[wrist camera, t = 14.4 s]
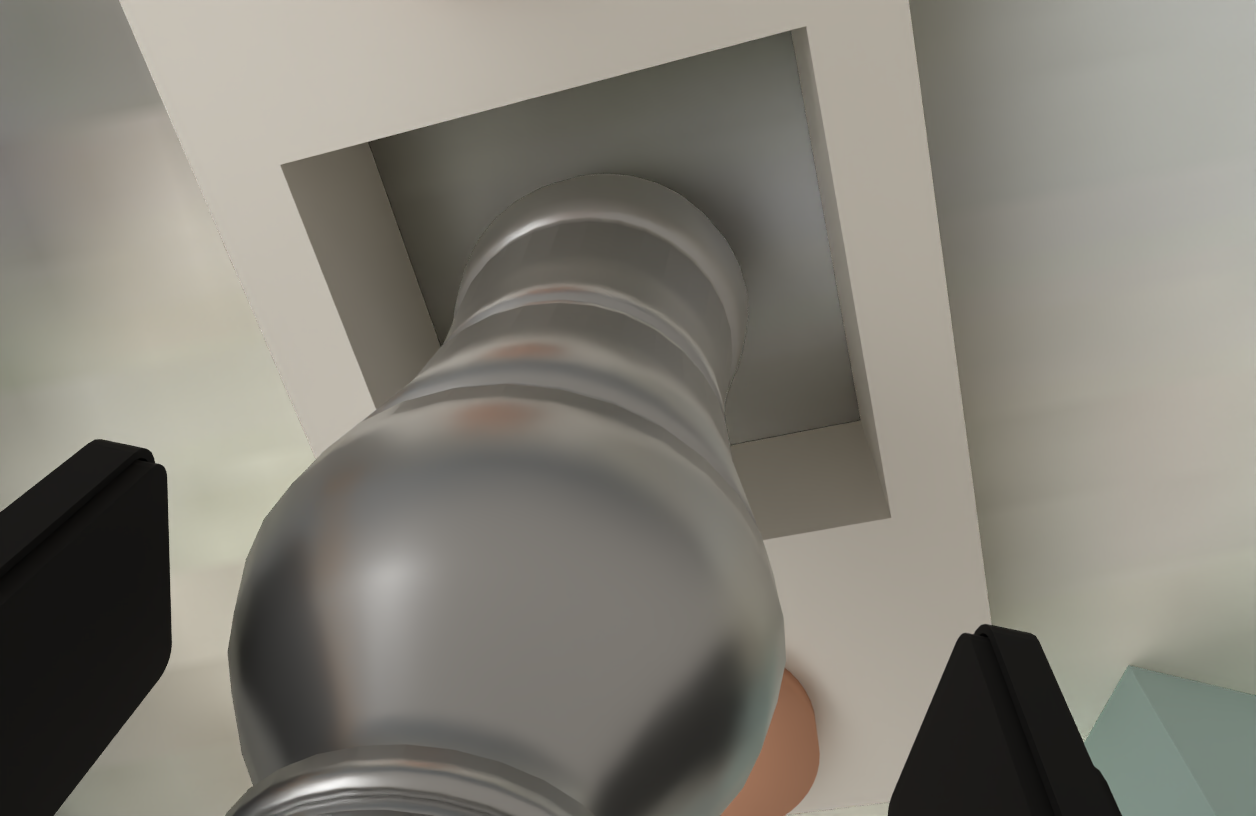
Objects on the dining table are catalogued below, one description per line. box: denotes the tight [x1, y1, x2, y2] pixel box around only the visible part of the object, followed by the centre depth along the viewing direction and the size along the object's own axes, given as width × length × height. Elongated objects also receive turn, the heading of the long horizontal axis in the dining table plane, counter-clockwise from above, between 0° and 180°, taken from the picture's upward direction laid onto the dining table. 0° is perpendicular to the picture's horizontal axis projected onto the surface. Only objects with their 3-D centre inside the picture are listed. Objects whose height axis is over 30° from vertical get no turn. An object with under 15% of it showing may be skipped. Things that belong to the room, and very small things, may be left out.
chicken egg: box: [720, 668, 820, 816], centre depth 26 cm, size 5×5×6 cm
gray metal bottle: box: [225, 173, 786, 816], centre depth 16 cm, size 6×7×20 cm
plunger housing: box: [119, 0, 992, 815], centre depth 23 cm, size 27×14×5 cm, turn 14°
